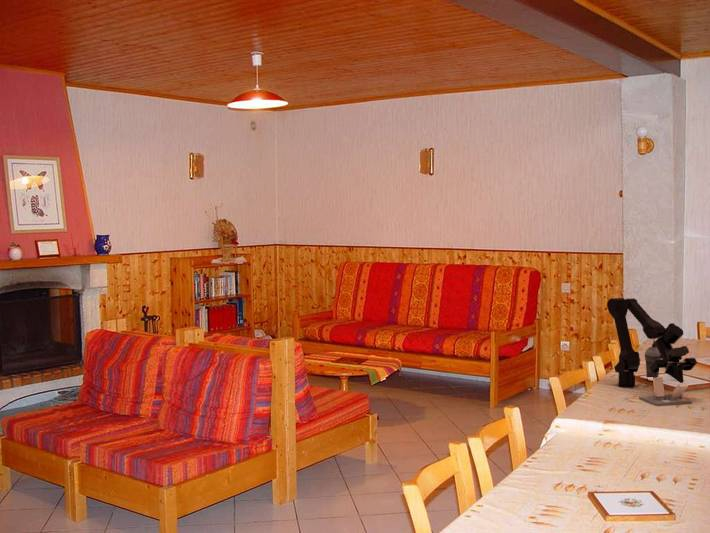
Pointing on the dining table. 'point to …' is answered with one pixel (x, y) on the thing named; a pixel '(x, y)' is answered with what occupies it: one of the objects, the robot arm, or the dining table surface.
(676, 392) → the marked lever
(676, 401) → the switch unit
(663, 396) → the unmarked lever
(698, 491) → the dining table surface
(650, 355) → the beverage cup
